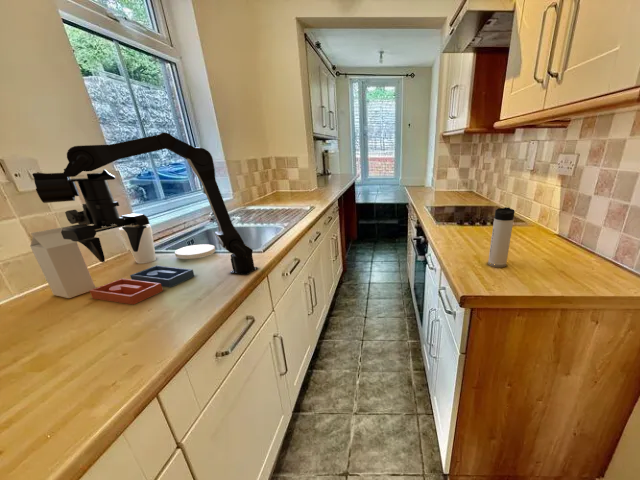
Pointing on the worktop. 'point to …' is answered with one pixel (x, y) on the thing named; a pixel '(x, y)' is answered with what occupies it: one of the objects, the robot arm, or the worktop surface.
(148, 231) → the foam cup
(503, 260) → the travel mug
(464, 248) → the worktop surface
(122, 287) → the terracotta spoon
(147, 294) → the terracotta tray
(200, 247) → the plastic lid
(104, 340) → the worktop surface
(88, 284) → the milk carton
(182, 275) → the blue tray
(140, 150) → the robot arm
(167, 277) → the blue spoon
